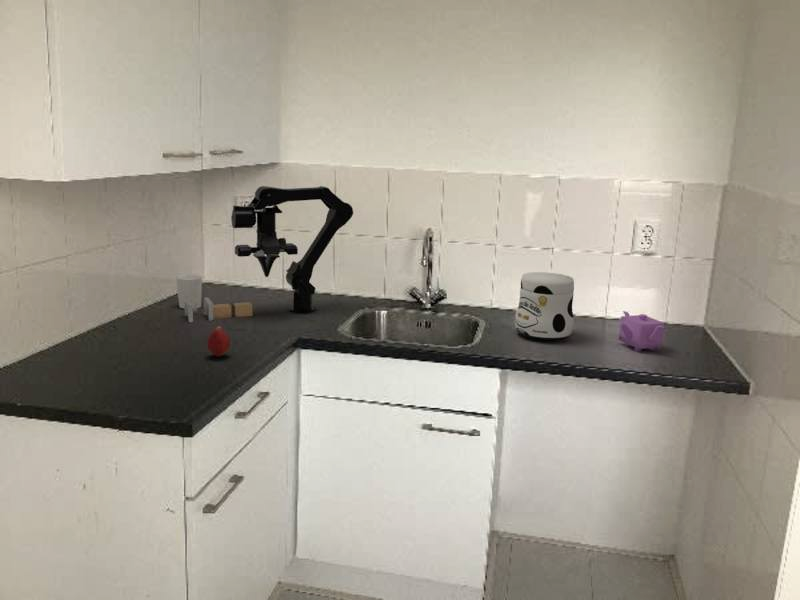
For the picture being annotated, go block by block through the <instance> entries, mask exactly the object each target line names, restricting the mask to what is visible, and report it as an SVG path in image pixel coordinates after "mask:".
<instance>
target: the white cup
mask: <svg viewBox="0 0 800 600" xmlns="http://www.w3.org/2000/svg"><path fill="white" fill-rule="evenodd" d="M175 278H176V287H177V288H176V289H177V291H176V292H177V298H178V306H179V308H180V309H182V308H183V310H185V304H184V299H189V300H190V302H191V303H192V305H193V310H194V299H197V301H198V303H197V309H199V308H201V307H202V291H203V289H202V288H203V277H202V275H201V274H190V273H189V274H180V275H178V276H176V277H175Z"/></svg>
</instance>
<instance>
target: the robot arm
mask: <svg viewBox="0 0 800 600" xmlns="http://www.w3.org/2000/svg"><path fill="white" fill-rule="evenodd" d="M316 200H320V201H321V202H322V203H323V204H324V206H326V207H327V209H328V211H327V214H326V219H325V222H324V223H323V225H322V227H321V229H320V230H319V232H318V234H316V237H315V238H314V240H313V241H312V243H311V244H310V246H309V247H308V249H307V250H306V252H305V254H304V255H303V257H302V258H301V259H300V260H298V261H297V262H296V261H294V260H293V261H292V262H291V263H290V266H289V267H288V268H287V269H286V270H285V272H286V275H285V280H286V282H287V284H288V285H289V286H291V289H292V290H293V300H292V301H293V303H292V306H293V307H292V308H290V309H289V312H296V313H302V314H309V313H310V312H313V311H315V310H317V307H313V295H314V294H315V292H316V287H315V286H314V285H313V284H312V283H311V282H310V280H311V279H312V275H313V271H314V268H315V267H314V266H316V264H317V262H318V261H319V259H320V257H322V255H323V253H324V251H325V250H326V249H327V247H328V245H329V244H330V242H331V241H332V239H333V237H334V236H335V234H336V233H337V231H339V229H341V228H342V227H343V226H345V225H346V224H347V223H348V222H349V221H350V220H351V219H352V218H353V216H354V210H353V207H352V205H351V204H350V203H348V202H344V201H343V200H342V199H341V198H339V197H338V196H337V195H336V194H335V193H334V192H332V191H331V189H330V188H328V187H326V186H322V185H321V186H317V187H299V188H298V187H297V188H295V187H294V188H281V187H280V188H279V187H273V186H268V185H267V186H264V185H263V186H258V188H257V189H256V190H255V193H254V197H253V198H252V200H251V202H249V204H248V205H247V206H246V205H245V206H244V205H243V206H242V205H241V206H240V205H233V206H232V207H233V208H232V212H231V218H230V219H231V227H232V228H233V229H251V228H252V229H253V227H254V226H255V225H256V246H253V247H252V246H250V245H249V244H236V245H235V247H234V254H235V255H236V256H237V257H240V258H241V257H250V256H251V255H253V257H254V258H256V259H257V261H258V262H259V264H260V266H261V270H262V271H263V275H264V277H265V278H269V276H270V272H271V269H272V267H273V264H274V263H275V261H276V260H277V259H278V258H280V254H281V253H286V254H287V255H288V256H289V255H298V246H297V245H296V244H294V243H292V242H289V243H288V242H287V239H286V238H285V237H280V238H278V237H277V231H276V229H277V228H276V225H277V224H276V222H277V221H276V214H282V213H283V210H281V209H280V208H279V207H278V205H281V204H284V203H287V202H299V201H300V202H301V201H316Z"/></svg>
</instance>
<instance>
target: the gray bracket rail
mask: <svg viewBox="0 0 800 600" xmlns="http://www.w3.org/2000/svg"><path fill="white" fill-rule="evenodd" d="M203 299H204V300H203V301H204V302H203V303H204V305H203V309H204V310H203V311H204V316H208V321H209V322H210V321H212V322H213V321H214V318H213V305H214V303H213V301H212V300H211V299H210V298H209V297H208V296H207V297H203ZM197 303H198V301H197V299H194V309H193V305H192V303H191V302H190V300H189V299H184V304H185V309H184V317H185V318H186V317H187V319H188V323H194V314H197V313H198V308H197Z"/></svg>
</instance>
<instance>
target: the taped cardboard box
mask: <svg viewBox="0 0 800 600" xmlns="http://www.w3.org/2000/svg"><path fill="white" fill-rule="evenodd" d="M252 316H254V315H253V304H252V303H251V301H246V302H234V303H231V302H230V303H217V304H213V320H216V319H226V318H227V319H229V318H238V317H239V318H242V317H243V318H244V317H252Z"/></svg>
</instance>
